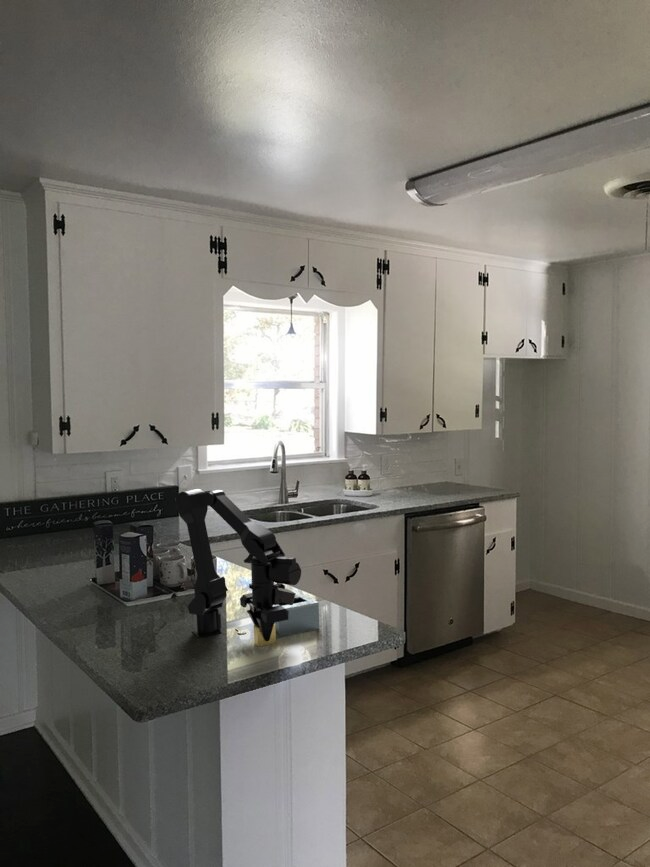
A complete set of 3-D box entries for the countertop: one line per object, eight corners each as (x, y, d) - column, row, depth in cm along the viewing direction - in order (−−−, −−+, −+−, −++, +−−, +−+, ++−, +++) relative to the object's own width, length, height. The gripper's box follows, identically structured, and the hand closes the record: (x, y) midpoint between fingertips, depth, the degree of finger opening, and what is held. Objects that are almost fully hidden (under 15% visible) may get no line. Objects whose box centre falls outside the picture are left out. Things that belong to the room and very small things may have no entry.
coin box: (279, 637, 195) (278, 610, 195) (264, 626, 204) (263, 600, 203) (319, 628, 201) (318, 602, 200) (303, 618, 210) (302, 593, 209)
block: (258, 646, 189) (257, 627, 188) (254, 643, 191) (253, 624, 191) (275, 642, 191) (275, 624, 191) (272, 640, 193) (271, 621, 193)
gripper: (306, 583, 185) (308, 644, 186) (276, 568, 202) (278, 623, 203) (266, 591, 180) (268, 653, 181) (238, 574, 197) (240, 631, 198)
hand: (265, 639), depth 191 cm, fingers closed on block, 2 cm apart
